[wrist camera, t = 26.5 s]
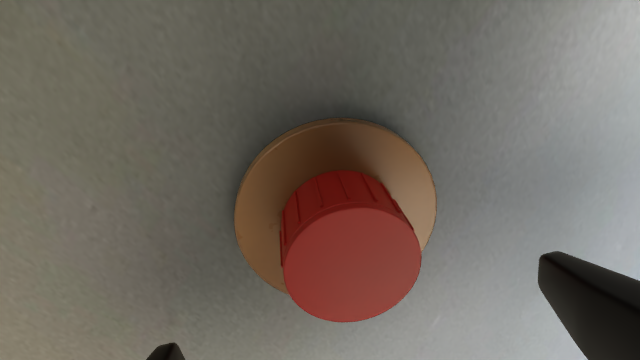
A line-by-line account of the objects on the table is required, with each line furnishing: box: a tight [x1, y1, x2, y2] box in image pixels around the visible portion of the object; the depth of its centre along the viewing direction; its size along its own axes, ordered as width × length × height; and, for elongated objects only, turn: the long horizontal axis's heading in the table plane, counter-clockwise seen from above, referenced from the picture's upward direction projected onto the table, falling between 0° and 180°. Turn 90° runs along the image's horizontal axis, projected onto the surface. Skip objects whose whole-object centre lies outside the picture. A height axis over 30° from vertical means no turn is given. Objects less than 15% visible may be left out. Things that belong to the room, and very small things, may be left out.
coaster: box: [234, 118, 437, 294], centre depth 13 cm, size 7×7×1 cm
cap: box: [279, 170, 421, 322], centre depth 12 cm, size 4×4×2 cm
